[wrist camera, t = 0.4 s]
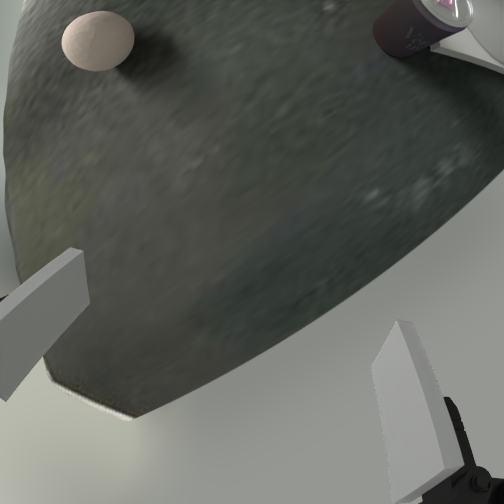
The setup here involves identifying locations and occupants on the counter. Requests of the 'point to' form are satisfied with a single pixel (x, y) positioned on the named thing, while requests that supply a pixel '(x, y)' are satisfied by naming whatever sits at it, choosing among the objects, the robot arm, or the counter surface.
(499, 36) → the scale
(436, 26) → the beverage can
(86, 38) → the egg
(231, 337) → the counter surface
